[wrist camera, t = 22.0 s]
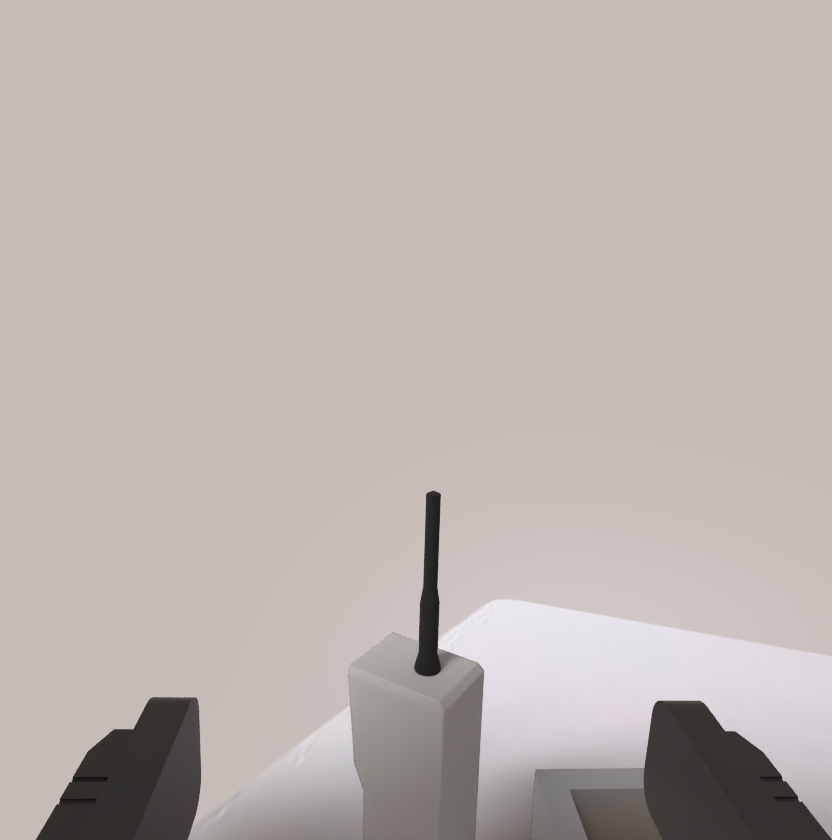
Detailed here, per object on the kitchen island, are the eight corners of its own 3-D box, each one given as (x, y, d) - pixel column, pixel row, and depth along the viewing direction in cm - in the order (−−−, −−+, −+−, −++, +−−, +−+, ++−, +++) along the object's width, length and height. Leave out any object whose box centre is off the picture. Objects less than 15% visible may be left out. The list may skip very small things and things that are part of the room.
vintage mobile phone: (387, 911, 37) (397, 468, 32) (468, 961, 34) (494, 488, 29) (344, 969, 34) (347, 488, 29) (430, 1029, 31) (451, 512, 26)
